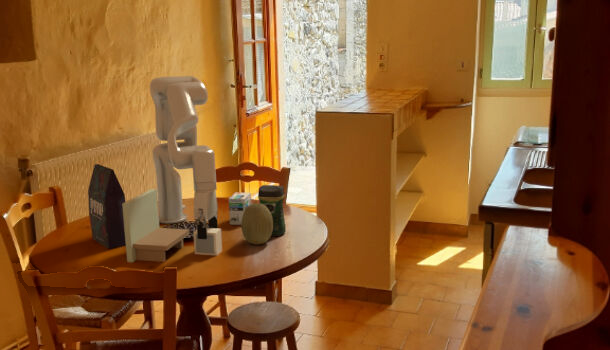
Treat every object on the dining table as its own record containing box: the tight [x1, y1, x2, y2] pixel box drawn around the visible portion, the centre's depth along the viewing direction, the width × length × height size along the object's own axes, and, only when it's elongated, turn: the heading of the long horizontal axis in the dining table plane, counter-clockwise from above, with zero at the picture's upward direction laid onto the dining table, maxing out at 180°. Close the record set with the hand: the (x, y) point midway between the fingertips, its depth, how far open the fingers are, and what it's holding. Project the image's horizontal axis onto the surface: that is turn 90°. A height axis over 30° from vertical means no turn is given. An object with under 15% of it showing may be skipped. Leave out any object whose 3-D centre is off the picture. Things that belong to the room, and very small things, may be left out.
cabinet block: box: [193, 227, 223, 256], centre depth 205 cm, size 5×8×8 cm, turn 77°
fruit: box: [240, 202, 273, 246], centre depth 212 cm, size 11×11×15 cm
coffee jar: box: [257, 184, 287, 237], centre depth 223 cm, size 10×8×19 cm
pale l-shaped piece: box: [122, 188, 190, 263], centre depth 203 cm, size 20×14×20 cm
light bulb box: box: [228, 191, 252, 226], centre depth 240 cm, size 11×7×11 cm, turn 171°
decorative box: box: [87, 163, 126, 250], centre depth 216 cm, size 8×16×28 cm, turn 40°
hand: (208, 234), depth 204 cm, fingers open, 9 cm apart
